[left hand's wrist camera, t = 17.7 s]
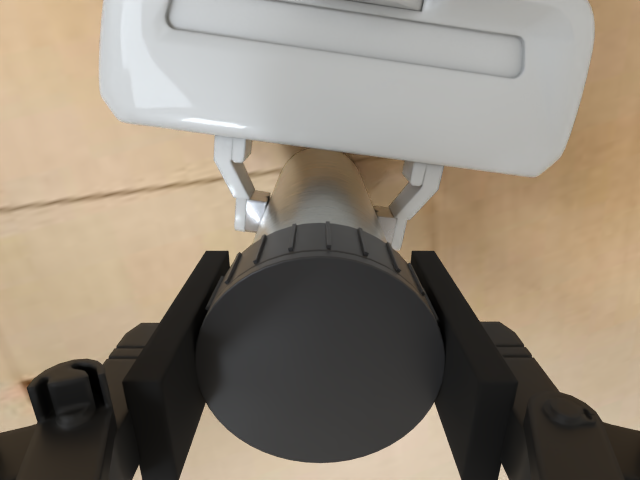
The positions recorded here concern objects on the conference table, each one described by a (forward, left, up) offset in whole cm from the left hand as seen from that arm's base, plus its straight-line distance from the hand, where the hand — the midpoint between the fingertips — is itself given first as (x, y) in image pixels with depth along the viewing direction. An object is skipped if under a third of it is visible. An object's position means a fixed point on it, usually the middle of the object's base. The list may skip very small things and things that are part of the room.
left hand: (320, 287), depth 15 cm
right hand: (-1, 0, -7) cm, 7 cm away
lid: (0, 0, +4) cm, 4 cm away
